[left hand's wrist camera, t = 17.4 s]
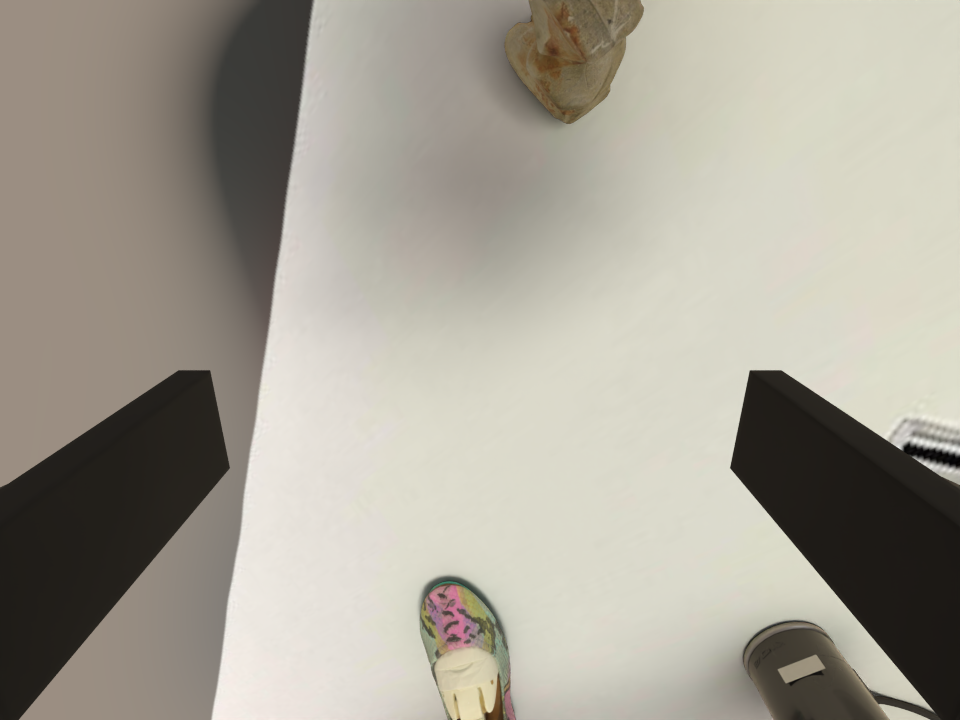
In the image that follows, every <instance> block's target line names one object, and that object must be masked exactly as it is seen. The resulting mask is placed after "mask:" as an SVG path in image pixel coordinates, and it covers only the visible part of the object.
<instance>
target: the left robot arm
mask: <svg viewBox="0 0 960 720" xmlns="http://www.w3.org/2000/svg"><path fill="white" fill-rule="evenodd" d="M229 468H230V467H229V462H228V457H227V452H226V447H225V442H224V437H223V432H222V427H221V422H220V417H219V412H218V407H217V402H216V397H215V392H214V387H213V382H212V377H211V372H210V370H179V371H177V372H176V373H174V374H173V375H171V376H170V377H168V378H167V379H165V380H164V381H162V382H161V383H159V384H158V385H156V386H155V387H153V388H152V389H150V390H148V391H147V392H146V393H144V394H142V395H141V396H139V397H138V398H137V399H135V400H133V401H132V402H130V403H129V404H127V405H126V406H124V407H123V408H121V409H120V410H118V411H117V412H115V413H114V414H113V415H111V416H109V417H108V418H106V419H105V420H104V421H102V422H100V423H99V424H97V425H96V426H94V427H93V428H91V429H90V430H88V431H87V432H85V433H84V434H82V435H81V436H79V437H78V438H76V439H75V440H73V441H72V442H70V443H69V444H67V445H66V446H64V447H63V448H61V449H60V450H58V451H57V452H55V453H54V454H52V455H51V456H49V457H48V458H46V459H45V460H43V461H42V462H40V463H39V464H37V465H36V466H34V467H33V468H31V469H30V470H28V471H27V472H25V473H24V474H22V475H21V476H19V477H18V478H16V479H15V480H13V481H12V482H10V483H9V484H7V485H5V486H2V487H0V720H19V719H20V717H21V716H22V715H23V714H24V713H25V712H26V710H27V709H28V708H29V707H30V706H31V704H32V703H33V702H34V701H35V700H36V698H37V697H38V696H39V695H40V694H41V692H42V691H43V690H44V689H45V688H46V687H47V685H48V684H49V683H50V682H51V681H52V679H53V678H54V677H55V676H56V674H57V673H58V672H59V671H60V670H61V669H62V667H63V666H64V665H65V664H66V663H67V662H68V660H69V659H70V658H71V657H72V656H73V654H74V653H75V652H76V651H77V650H78V648H79V647H80V646H81V645H82V644H83V642H84V641H85V640H86V639H87V638H88V636H89V635H90V634H91V633H92V632H93V631H94V629H95V628H96V627H97V626H98V625H99V623H100V622H101V621H102V620H103V619H104V617H105V616H106V615H107V614H108V613H109V611H110V610H111V609H112V608H113V607H114V605H115V604H116V603H117V602H118V601H119V600H120V598H121V597H122V596H123V595H124V594H125V592H126V591H127V590H128V589H129V588H130V586H131V585H132V584H133V583H134V582H135V580H136V579H137V578H138V577H139V576H140V574H141V573H142V572H143V571H144V570H145V568H146V567H147V566H148V565H149V564H150V563H151V561H152V560H153V559H154V558H155V557H156V555H157V554H158V553H159V552H160V551H161V549H162V548H163V547H164V546H165V545H166V543H167V542H168V541H169V540H170V539H171V538H172V536H173V535H174V534H175V533H176V532H177V530H178V529H179V528H180V527H181V526H182V524H183V523H184V522H185V521H186V520H187V519H188V517H189V516H190V515H191V514H192V513H193V511H194V510H195V509H196V508H197V506H198V505H199V504H200V503H201V502H202V501H203V499H204V498H205V497H206V496H207V495H208V493H209V492H210V491H211V490H212V489H213V488H214V486H215V485H216V484H217V483H218V481H219V480H220V479H221V478H222V477H223V476H224V474H225V473H226V472H227V471H228V470H229ZM730 468H731V470H732V471H733V472H734V473H735V474H736V476H737V477H738V478H739V479H740V480H741V482H742V483H743V484H744V485H745V486H746V488H747V489H748V490H749V491H750V492H751V493H752V495H753V496H754V497H755V498H756V499H757V501H758V502H759V503H760V504H761V505H762V507H763V508H764V509H765V510H766V511H767V513H768V514H769V515H770V516H771V517H772V519H773V520H774V521H775V522H776V523H777V524H778V526H779V527H780V528H781V529H782V530H783V532H784V533H785V534H786V535H787V536H788V538H789V539H790V540H791V541H792V542H793V544H794V545H795V546H796V547H797V548H798V550H799V551H800V552H801V553H802V554H803V555H804V557H805V558H806V559H807V560H808V561H809V563H810V564H811V565H812V566H813V567H814V569H815V570H816V571H817V572H818V573H819V575H820V576H821V577H822V578H823V579H824V580H825V582H826V583H827V584H828V585H829V586H830V588H831V589H832V590H833V591H834V592H835V594H836V595H837V596H838V597H839V598H840V600H841V601H842V602H843V603H844V604H845V606H846V607H847V608H848V609H849V610H850V611H851V613H852V614H853V615H854V616H855V617H856V619H857V620H858V621H859V622H860V623H861V625H862V626H863V627H864V628H865V629H866V631H867V632H868V633H869V634H870V635H871V636H872V638H873V639H874V640H875V641H876V642H877V644H878V645H879V646H880V647H881V648H882V650H883V651H884V652H885V653H886V654H887V656H888V657H889V658H890V659H891V660H892V662H893V663H894V664H895V665H896V666H897V667H898V669H899V670H900V671H901V672H902V673H903V675H904V676H905V677H906V678H907V679H908V681H909V682H910V683H911V684H912V685H913V687H914V688H915V689H916V690H917V691H918V693H919V694H920V695H921V696H922V697H923V698H924V700H925V701H926V702H927V703H928V704H929V706H930V707H931V708H932V709H933V710H934V712H935V713H936V714H937V715H938V716H939V718H940V719H941V720H960V485H958V484H956V483H954V482H952V481H949V480H947V479H945V478H943V477H941V476H939V475H938V474H936V473H935V472H933V471H932V470H930V469H929V468H927V467H926V466H924V465H923V464H921V463H920V462H918V461H917V460H915V459H914V458H912V457H911V456H909V455H908V454H906V453H905V452H903V451H902V450H900V449H899V448H897V447H896V446H894V445H893V444H891V443H890V442H888V441H887V440H885V439H884V438H882V437H881V436H879V435H878V434H876V433H875V432H873V431H872V430H870V429H869V428H867V427H866V426H864V425H863V424H861V423H860V422H858V421H857V420H855V419H854V418H852V417H851V416H849V415H848V414H846V413H845V412H843V411H842V410H840V409H839V408H837V407H836V406H834V405H833V404H831V403H830V402H828V401H827V400H825V399H824V398H822V397H821V396H819V395H818V394H816V393H815V392H813V391H812V390H810V389H809V388H807V387H806V386H804V385H802V384H801V383H799V382H798V381H796V380H795V379H793V378H792V377H790V376H789V375H787V374H786V373H784V372H783V371H781V370H750V372H749V377H748V382H747V387H746V392H745V397H744V402H743V407H742V412H741V417H740V422H739V427H738V432H737V437H736V442H735V447H734V452H733V457H732V462H731V467H730Z"/></svg>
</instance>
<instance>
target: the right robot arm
mask: <svg viewBox="0 0 960 720" xmlns="http://www.w3.org/2000/svg"><path fill="white" fill-rule="evenodd" d="M744 666H745V669H746V671H747V673H748V674H749V676H750V678H751V679H752V680H753V682H754V684H755V686H756V687H757V689H758V691H759V693H760V695H761V697H762V699H763V700H764V703H765V705H766V706H767V708H768V710H769V712H770V714H771V716H772V718H773V720H889V718H888V717H887V716H886V714H885V713H884V711H883V710H882V709H881V707H880V706H879V705H878V704H885V705H890V706H895V707H898V708H902V709H905V710H908V711H911V712H914V713H916V714H919V715H921V716H924V717H926V718H928V719H930V720H941V719H940V718H939V716H937V715H935V714H933V713H931V712H929V711H927V710H924V709H922V708H920V707H917V706H914V705H912V704H909V703H906V702H902V701H899V700H895V699H891V698H886V697H881V696H873V694H872V693H871V692H870V690H869V689H868V688H867V686H866V685H865V684H864V682H863V681H862V680H861V678H860V677H859V676H858V674H857V673H856V672H855V670H854V669H852V668H851V667H850V665H849V664H848V663H847V661H846V660H845V659H844V657H843V656H842V655H841V653H840V652H839V651H838V649H837V648H836V647H835V645H834V643H833V641H832V640H831V638H830V637H829V636H828V634H827V633H826V632H825V631H824V630H823V629H821V628H820V627H818V626H816V625H813V624H809V623H804V622H790V623H784V624H780V625H776V626H774V627H771V628H769V629H767V630H765V631H763V632H762V633H760V634H759V635H758V636H757V637H755V638H754V639H753V640H752V642H751V643H750V644H749V645H748V647H747V649H746V651H745V654H744Z"/></svg>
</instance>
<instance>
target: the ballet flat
mask: <svg viewBox="0 0 960 720" xmlns="http://www.w3.org/2000/svg"><path fill="white" fill-rule="evenodd" d="M420 633H421V637H422V640H423V643H424V646H425V649H426V653H427V656H428V659H429V662H430V665H431V671H432V674H433V677H434V679H435V681H436V684H437V687H438V690H439V693H440V696H441V698H442V702H443V705H444V709H445V712H446V715H447V718H448V720H516V718H515V715H514V711H513V708H512V705H511V699H510V659H509V653H508V647H507V644H506V640H505V638H504V635H503V633H502V631H501V629H500V627H499V625H498V623H497V621H496V619H495V617H494V616H493V614H492V613H491V612H490V610H489V609H488V608H487V606H486V605H485V604H484V603H483V602H482V601H481V600H480V599H479V598H478V597H477V596H476V595H475V594H474V593H472V592H471V591H470V590H469V589H468V588H467V587H465V586H464V585H462V584H460V583H457V582H451V581H447V582H442V583H440V584H437V585H436V586H434V587H433V588H432V589H431V591H430V592H429V594H428V596H427V597H426V598H425V600H424V602H423V605H422V609H421V614H420Z"/></svg>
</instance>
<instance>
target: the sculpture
mask: <svg viewBox="0 0 960 720" xmlns="http://www.w3.org/2000/svg"><path fill="white" fill-rule="evenodd" d="M529 4H530V8H531V12H532V16H531V22H529V23H517V24H516V25H515V26H514V27H513V28H512V29H511V30H509V32H508V33H507V36H506V39H505V52H506V55H507V58H508V60H509V62H510V64H511V66H512V67H513V69H514V70H515V72H516V73H517V75H518V76H519V78H520V79H521V80H522V82H523V83H524V84H525V85H526V86H527V88H528V89H529V90H530V91H531V92H532V93H533V94H534V95H535V97H536V98H537V99H538V100H539V101H540V102H541V103H542V104H543V105H544V107H545V108H546V109H547V110H548V111H549V112H550V113H551V114H552V115H553V116H554V117H555V118H557V119H560V120H561V121H563V122H564V123H567V124H571V123H573V122H575V121H576V120H578V119H579V118H581V117H582V116H584V115H585V114H586V113H588V112H589V111H590V110H592V109H593V108H594V107H595V106H596V105H598V104H599V103H600V102H601V101H603V100H604V99H605V98H606V97H607V95H608V93H609V92H610V84H611V82H612V80H613V78H614V76H615V74H616V72H617V70H618V67H619V65H620V63H621V61H622V59H623V56H624V53H625V48H626V36H628V35H629V34H630V33H631V32H632V31H633V30H634V29H635V28H636V26H637V25H638V23H639V21H640V19H641V17H642V15H643V11H644V7H643V6H642V4H641V1H640V0H529Z"/></svg>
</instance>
